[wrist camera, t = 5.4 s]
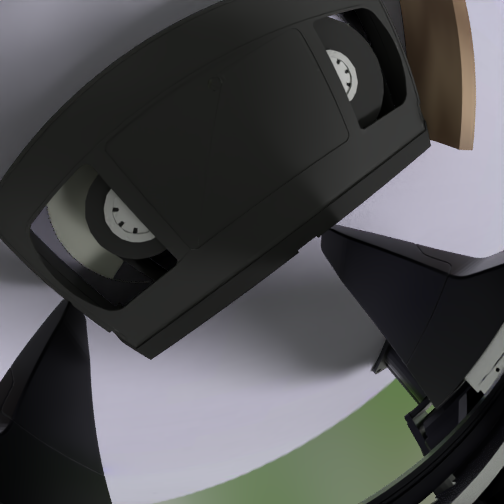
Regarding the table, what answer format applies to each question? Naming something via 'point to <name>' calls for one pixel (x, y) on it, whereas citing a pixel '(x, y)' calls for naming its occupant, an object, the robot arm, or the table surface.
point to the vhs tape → (214, 157)
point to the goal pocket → (442, 68)
